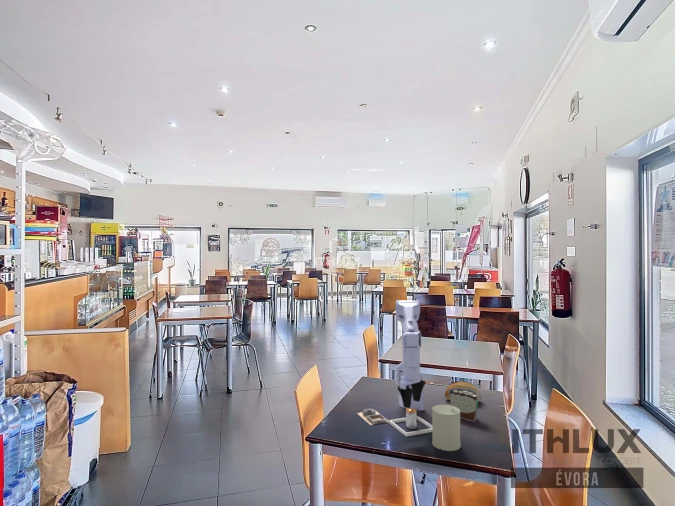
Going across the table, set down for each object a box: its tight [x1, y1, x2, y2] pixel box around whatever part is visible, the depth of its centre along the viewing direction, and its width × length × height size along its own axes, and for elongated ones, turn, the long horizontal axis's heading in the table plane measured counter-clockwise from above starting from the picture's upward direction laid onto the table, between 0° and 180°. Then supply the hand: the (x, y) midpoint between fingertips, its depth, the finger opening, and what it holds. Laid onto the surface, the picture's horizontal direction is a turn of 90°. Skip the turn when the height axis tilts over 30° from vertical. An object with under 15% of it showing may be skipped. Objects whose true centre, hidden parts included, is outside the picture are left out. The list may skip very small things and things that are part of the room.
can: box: [431, 404, 462, 452], centre depth 134 cm, size 9×9×12 cm
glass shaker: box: [405, 408, 418, 430], centre depth 144 cm, size 4×4×7 cm
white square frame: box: [388, 415, 432, 437], centre depth 144 cm, size 12×12×2 cm
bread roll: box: [444, 380, 482, 401], centre depth 175 cm, size 10×15×8 cm, turn 80°
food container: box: [448, 388, 481, 423], centre depth 158 cm, size 12×6×10 cm, turn 47°
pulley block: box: [356, 408, 390, 426], centre depth 153 cm, size 8×12×3 cm, turn 21°
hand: (411, 404), depth 144 cm, fingers open, 7 cm apart
